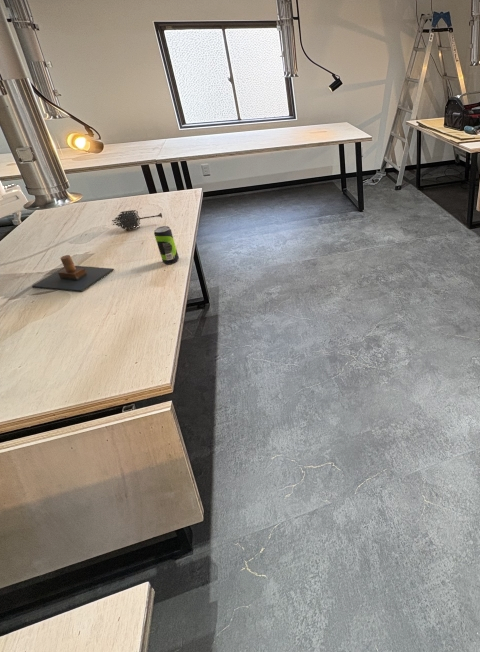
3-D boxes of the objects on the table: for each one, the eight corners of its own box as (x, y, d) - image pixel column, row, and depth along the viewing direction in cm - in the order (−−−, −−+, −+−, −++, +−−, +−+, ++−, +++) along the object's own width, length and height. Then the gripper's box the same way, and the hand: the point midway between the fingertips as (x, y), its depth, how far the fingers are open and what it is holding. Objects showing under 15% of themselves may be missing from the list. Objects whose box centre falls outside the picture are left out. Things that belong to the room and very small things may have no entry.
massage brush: (163, 227, 205) (158, 209, 200) (113, 235, 197) (106, 217, 193) (164, 220, 212) (159, 203, 208) (116, 228, 205) (110, 210, 201)
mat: (32, 287, 157) (31, 285, 157) (68, 266, 171) (67, 264, 171) (82, 292, 153) (81, 290, 153) (114, 270, 167) (113, 268, 167)
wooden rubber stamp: (60, 278, 161) (51, 258, 157) (70, 273, 165) (62, 253, 161) (77, 280, 159) (68, 260, 155) (87, 274, 163) (78, 255, 159)
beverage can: (182, 258, 175) (173, 226, 168) (172, 265, 170) (163, 232, 163) (169, 257, 176) (160, 225, 170) (159, 264, 171) (149, 231, 164)
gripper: (9, 181, 144) (25, 217, 150) (-56, 202, 126) (-35, 242, 132) (24, 181, 143) (40, 218, 149) (-39, 203, 125) (-19, 243, 131)
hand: (4, 229), depth 141 cm, fingers open, 8 cm apart
